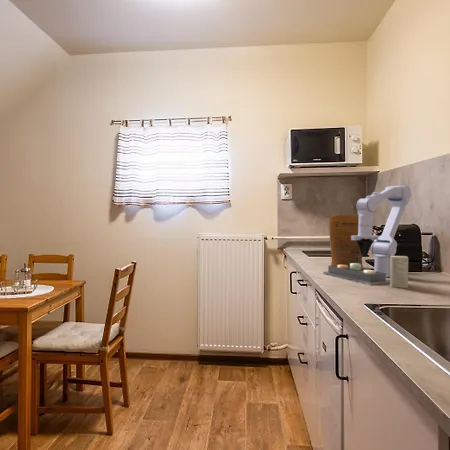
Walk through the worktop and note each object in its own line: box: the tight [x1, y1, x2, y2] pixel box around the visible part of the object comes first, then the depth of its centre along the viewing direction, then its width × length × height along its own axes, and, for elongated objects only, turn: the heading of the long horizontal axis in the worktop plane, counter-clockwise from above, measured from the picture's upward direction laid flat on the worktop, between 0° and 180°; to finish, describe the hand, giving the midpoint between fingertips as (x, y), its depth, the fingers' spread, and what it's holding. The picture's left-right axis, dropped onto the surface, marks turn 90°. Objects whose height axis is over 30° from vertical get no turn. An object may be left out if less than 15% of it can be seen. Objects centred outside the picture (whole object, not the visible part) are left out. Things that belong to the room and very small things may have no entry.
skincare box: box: [389, 255, 409, 289], centre depth 146 cm, size 6×4×12 cm
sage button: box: [350, 263, 361, 271], centre depth 163 cm, size 5×5×3 cm
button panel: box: [323, 265, 390, 286], centre depth 163 cm, size 12×28×4 cm, turn 26°
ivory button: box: [364, 269, 376, 274], centre depth 156 cm, size 5×5×3 cm
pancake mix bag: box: [328, 214, 366, 269], centre depth 196 cm, size 7×19×28 cm, turn 67°
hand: (364, 256), depth 162 cm, fingers closed
